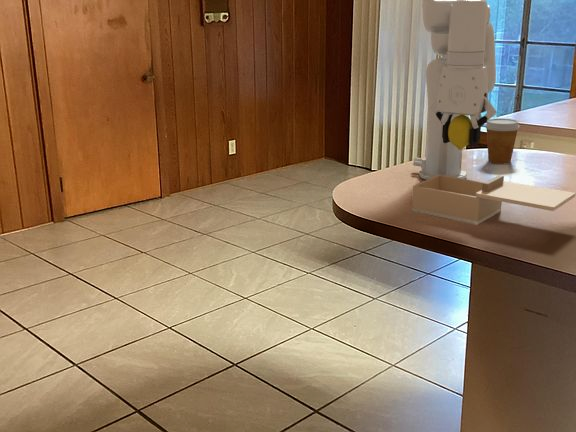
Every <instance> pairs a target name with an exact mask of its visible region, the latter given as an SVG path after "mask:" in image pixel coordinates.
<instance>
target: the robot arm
mask: <svg viewBox="0 0 576 432" xmlns="http://www.w3.org/2000/svg"><path fill="white" fill-rule="evenodd" d="M421 1H422V4H421V6H422V21H423V26H424V29H425V30H426V32H429V33H430V43H431V44H430V45H431V49H432V51H433V53H434V54H435V55H436V56H440V57H438V58H435V59H432V60H431V61H430V62H429V63H428V64H427V65H426V68H425V82H426V92H427V94H426V95H427V114H426V115H427V117H426V141H425V158H422V157H416V156H415V157H414V159H413V166H416V167H420V168H421V169H420V170H419V172H418V177H420V179H423V180H424V181H426V180H428V179H430V178H433V177H435V176H438V175H443V176H449V177H455V178H461V179H467V175H468V173H467V171H465V170H463V169H462V161H463V160H462V159H463V149H462V150H459V149H458V148H457V147H456V146H454V145H453V144H451V142H450V140H449V137H448V129H449V125H450V122H451V121H452V120H453V119H454V118H455V117H457V116H459V115H465V116H469V118H470V119H471V122H472V128H471V129H470V136H469V145H468V147H470V148H471V147H472V148H473V147H475V146H478V145H479V143H480V141H481V130H482V129H481V128H482V127H484V126H485V124H486V123H487V121H488V120H489V119H493V117H494V116H495V115H497V110H496V108H495V107H494V106H493V104H492V103H491V101H489V93H491V92H492V91H493V90H494V89H495V86H496V81H497V69H496V68H497V67H496V46H495V43H496V40H495V30H494V26H493V23H491V21H490V19H491V6H490V5H489V4H488V1H486V0H421ZM485 112H486V113H485ZM483 113H485V114H484V115H483V116H482V114H483Z"/></svg>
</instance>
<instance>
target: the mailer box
mask: <svg viewBox="0 0 576 432" xmlns="http://www.w3.org/2000/svg"><path fill="white" fill-rule="evenodd" d="M484 182H485V181H484ZM484 182H483V181H478V180H472V179H471V180H470V179H467V178H465V179H461V178H455V177H449V176H443V175H438V176H435V177H433V178H430V179H428V180H424V181H420V182H419V183H417V184H415V185H413V186H412V197H411V198H412V200H411V201H412V203H411V211H412V212H415V213H419V214H423V215H425V214H426V215H429V216H434V217H439V218H443V219H448V220H453V221H458V222H462V223H467V224H471V225H475V226H476V225H477V226H478V225H479V224H481V223H484V222H485V221H486V220H488V219H490V218H492V217H493V216H495V215H496V214H498V213H501V211H502V205H503V203H502V202H501V201H496V200H490V199H485V198H479V197H475V195H476V193H477V192H479V191H481V190H482V185H483V183H484Z"/></svg>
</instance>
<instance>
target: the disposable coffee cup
mask: <svg viewBox="0 0 576 432" xmlns="http://www.w3.org/2000/svg"><path fill="white" fill-rule="evenodd" d="M484 126H485V129H486V142H487V145H486V146H487V158H488V159H487V161H488V163H491V164H494V165H507V164H511V162H512V161H511V160H512V157H513V153H514V148H515V143H516V140H517V134H518V130H519V129H520V127H521V125H520V124H519V120H516V119H512V118H491V119H489V120H488V121H487V122H486V123H485V124H484Z"/></svg>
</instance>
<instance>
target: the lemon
mask: <svg viewBox="0 0 576 432" xmlns="http://www.w3.org/2000/svg"><path fill="white" fill-rule="evenodd" d="M471 128H472V122H471V118H470V116H468V115H459V116H457V117H455V118H454V119H453V120H452V121H451V122H450V125H449V129H448V137H449V140H450V142H451V144H453V145H454V146H456V147H457V148H458V149H459V150H462V151H463V149H464V148H465V147H467V146H469V136H470V129H471Z"/></svg>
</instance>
